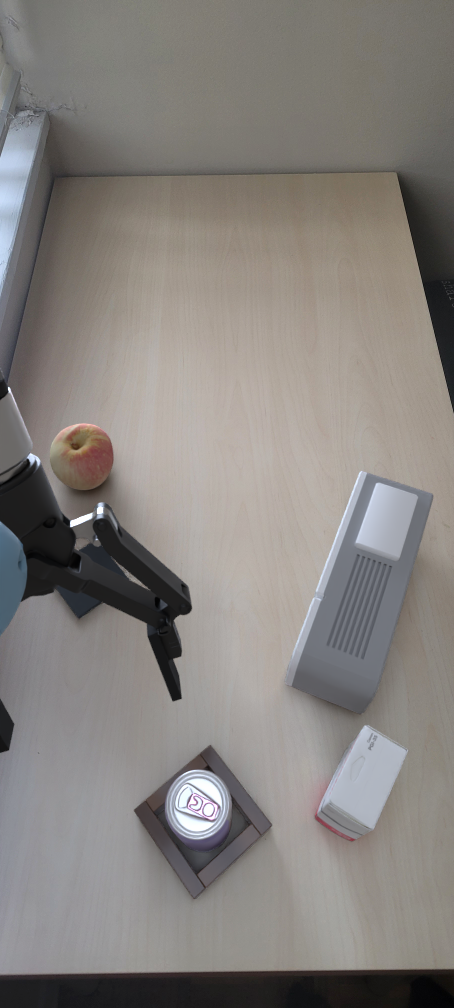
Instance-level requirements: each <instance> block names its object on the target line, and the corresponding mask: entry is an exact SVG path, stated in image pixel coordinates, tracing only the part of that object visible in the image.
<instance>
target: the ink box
mask: <svg viewBox="0 0 454 1008" xmlns="http://www.w3.org/2000/svg"><path fill="white" fill-rule="evenodd" d="M408 753H409V749H408V748H406V747H405V746H403V745H401V744H400V743H399V742H397V741H396V740H394V739H393V738H390V737H389V736H387V735H385V734H384V733H382V732H381V731H379V730H377V729H376V728H374V727H372V726H370V725H369V724H365V725H364V726H363V727H362V729H361V730H360V731H359V733H357V735H356V736H355V738H353V740H352V741H351V742H350V743H349V745H348V746H347V747H346V748H345V751H344V752H343V755H342V756H341V759H340V761H339V763H338V765H337V767H336V770H335V771H334V773H333V776H332V778H331V780H330V782H329V784H328V786H327V788H326V790H325V792H324V794H323V796H322V799H321V801H320V803H319V806H318V807H317V809H316V812H315V814H314V819H315V821H317V822H318V823H319V824H320V825H322V826H324V827H325V828H327V829H328V830H329V831H331V832H332V833H334V834H335V835H337V836H339V837H341V838H343V839H345V840H347V841H350V842H354V841H356V840H358V839H359V838H360V839H361V838H362V837H363V836H365V835H367V834H368V833H370V832H372V831H374V830H375V828H376V826H377V824H378V821H379V819H380V817H381V815H382V813H383V810H384V808H385V805H386V803H387V801H388V799H389V796H390V794H391V792H392V789H393V787H394V785H395V783H396V781H397V779H398V776H399V774H400V771H401V769H402V767H403V764H404V762H405V759H406V758H407V755H408Z"/></svg>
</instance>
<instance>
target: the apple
mask: <svg viewBox="0 0 454 1008" xmlns="http://www.w3.org/2000/svg"><path fill="white" fill-rule="evenodd" d="M113 448H114V447H113V442H112V440H111V438H110V436H109V434H108V433H107V432H106V431H105V430H104V429H103V428H101V427H100V426H98V425H96V424H91V423H76V424H72V425H68V426H67V427H65V428H63V429H61V431H59V432H58V433H57V435H56V436H55V437H54V439H53V441H52V443H51V445H50V449H49V463H50V468H51V470H52V472H53V474H54V475H55V476H56V477H57V479H58V481H60V482H61V483H62V484H63V485H65V486H67V487H69V488H71V489H74V490H79V491H88V490H89V491H90V490H93V489H96V488H97V487H100V485H102V484H103V483H104V482H105V481H106V480H107V478H109V476H110V474H111V471H112V469H113V466H114V461H115V457H114V456H115V455H114V449H113Z"/></svg>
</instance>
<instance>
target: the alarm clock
mask: <svg viewBox="0 0 454 1008" xmlns="http://www.w3.org/2000/svg"><path fill="white" fill-rule="evenodd" d="M433 501H434V494H433V493H431V492H429V491H427V490H423V489H419V488H416V487H413V486H410V485H407V484H404V483H400V482H398V481H395V480H392V479H389V478H386V477H382V476H380V475H376V474H373V473H370V472H367V471H363V470H361V471H359V473H358V475H357V478H356V481H355V483H354V486H353V489H352V491H351V494H350V496H349V499H348V501H347V505H346V507H345V510H344V513H343V516H342V518H341V521H340V524H339V526H338V529H337V533H336V535H335V538H334V540H333V543H332V546H331V548H330V551H329V553H328V556H327V559H326V562H325V565H324V567H323V570H322V572H321V575H320V578H319V581H318V583H317V586H316V589H315V591H314V594H313V598H312V599H311V602H310V605H309V608H308V610H307V613H306V616H305V619H304V621H303V624H302V627H301V629H300V632H299V635H298V637H297V640H296V643H295V646H294V648H293V651H292V654H291V657H290V660H289V663H288V667H287V669H286V670H287V671H286V674H285V679H284V683H285V685H287V686H289V687H291V688H294V689H296V690H299V691H301V692H304V693H307V694H309V695H312V696H314V697H316V698H319V699H321V700H323V701H326V702H328V703H331V704H334V705H336V706H339V707H340V708H343V709H346V710H349V711H351V712H353V713H356V714H359V715H362V714H364V713H365V712H366V711H367V709H368V708H369V706H370V705H371V704H372V702H373V701H374V698H375V697H376V695H377V692H378V689H379V686H380V684H381V680H382V677H383V675H384V670H385V667H386V663H387V660H388V657H389V653H390V651H391V646H392V644H393V640H394V637H395V636H394V635H395V633H396V629H397V625H398V623H399V620H400V619H399V618H400V615H401V612H402V609H403V604H404V602H405V599H406V594H407V591H408V587H409V584H410V581H411V577H412V574H413V570H414V567H415V563H416V559H417V557H418V553H419V550H420V546H421V543H422V539H423V536H424V532H425V529H426V527H427V522H428V518H429V515H430V511H431V509H432V506H433V505H432V504H433Z"/></svg>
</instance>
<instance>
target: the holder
mask: <svg viewBox="0 0 454 1008" xmlns="http://www.w3.org/2000/svg"><path fill="white" fill-rule="evenodd" d="M192 770H206V771H210V772H212V773H214V774H216V775H217V776H218V777H220V778H221V779H222V780H223V781H224V783H225V784H226V786H227V788H228V790H229V792H230V795H231V800H232V804H234V806H235V807H236V809H237V810H238V811H239V812H240V814H241V815H242V816H243V818H244V819H245V820H246V822H247V823H248V824H249V825H248V826H247V827H246V828H244V830H243V831H241V833H239V834H238V835H237V836H236V837H235V838H234V839H233V840H232V841H231V842H229V844H227V845H226V846H225V847H224V848H223V849H222V850H221V851H219V853H218V854H217V855H216V856H215V857H213V858H212V859H211V860H210V861H209V862H208V863H207V864H205V866H204V867H203V868H202V869H201V870H199V872H198V873H197V872H196V870H195V869H194V868H193V866H192V864H191V863H190V861H189V860H188V859H187V858H186V856H185V854H184V853H183V852H182V850H181V849H180V847H179V845H178V844H177V843H176V841H175V840H174V839H173V837H172V835H171V834H170V833H169V831H168V829H166V827H165V826H164V824H163V822H162V821H161V820H160V818H159V817H158V816H159V814H161V813H162V812H163V811H165V800H166V796H167V793H168V790H169V788H170V787H171V785H172V784H173V782H174V781H175V780H176V779H177V778H178V777H179V776H181V775H182V774H184V773H186V772H189V771H192ZM133 812H134V814H135V815H136V816H137V818H138V819H139V821H140V823H141V825H143V827H144V828H145V830H146V831H147V832H148V834H149V836H150V837H151V838H152V840H153V841H154V843H155V844H156V846H157V847H158V849H159V850H160V852H161V854H162V855H163V856H164V858H165V860H166V861H167V862H168V864H169V865H170V867H171V868H172V869H173V871H174V873H175V875H176V876H177V878H178V879H179V880H180V882H181V883H182V884H183V886H184V888H185V889H186V891H187V892H188V893H189V895H190V896H191V898H192V899H193V900H197V899H198V897H200V896H201V895H202V894H203V893H204V892H205V891H206V890H207V889H208V888H209V887H210V886H212V884H214V883H215V882H216V881H217V880H218V879H219V878H220V877H221V876H223V874H225V872H226V871H227V870H229V869H230V867H232V866H233V865H234V864H235V863H236V862H237V861H238V860H239V859H240V858H241V857H242V856H243V855H244V854H245V853H247V851H248V850H250V849H251V848H252V847H253V846H254V845H255V844H256V843H257V842H258V841H259V840H260V839H261V838H262V837H263V836H264V835H266V833H268V832H269V831H270V830H271V828H272V827H273V824H272V823H271V821H270V820H269V819H268V818H267V816H266V815H265V813H264V812H263V811H262V809H261V808H260V807H259V806H258V804H257V802H255V800H254V799H253V797H251V795H250V794H249V793H248V791H247V790H246V789H245V787H244V786H243V784H242V783H241V782H240V781H239V780H238V779H237V777H236V775H235V774H234V773H233V772H232V771H231V769H230V768H229V767H228V765H227V764H226V763H225V762H224V760H223V759H222V758H221V756H220V755H219V754H218V752H217V751H216V750H215V748H214V747H213V746H212V745H211V744H209V745H208V746H207V747H205V748H204V749H203V750H202V751H201V752H200V753H198V754H197V755H196V756H195V757H194V758H193V759H191V760H190V761H189V762H187V764H185V765H184V766H183V767H182V768H181V769H180V770H179V771H177V772H176V773H175V774H174V775H172V776H171V777H170V778H169V779H168V780H167V781H165V782H164V783H163V784H162V785H161V786H159V788H158V789H156V790H155V791H154V792H153V793H152V794H151V795H150V796H148V797H147V798H145V800H143V801H142V802H141V803H140V804H139V805H137V806H136V807H135V808H134V809H133Z"/></svg>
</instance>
